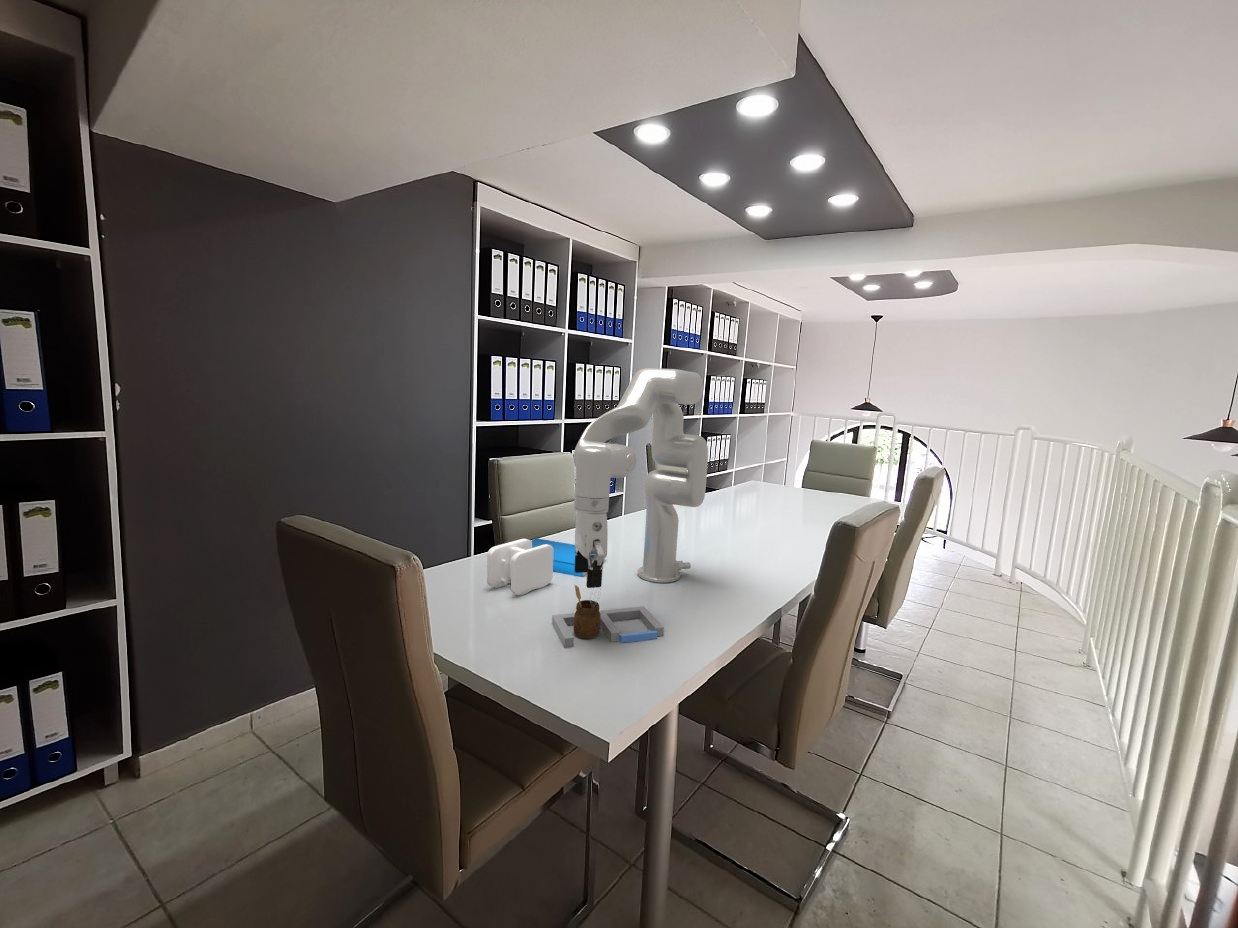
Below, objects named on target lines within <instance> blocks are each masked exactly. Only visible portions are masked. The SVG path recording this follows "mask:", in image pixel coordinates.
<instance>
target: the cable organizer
mask: <svg viewBox="0 0 1238 928" xmlns="http://www.w3.org/2000/svg"><path fill="white" fill-rule="evenodd" d="M531 541H532V540H530V539H527V538H521V539H517V540H513V541H509V542H505V543H502V544H498V545H495V546H492V547H491V548H490V549H489V550H488V551H487V556H486V557H487V558H486V560H487V561H486V569H487V570H486V584H487V586H490V587H492V588H498V589H499V588H501V587H504V586H506V587H507V586H508V584H510V591H511V592H512V594H514V595H517V596H523V594H524V595H525V594H529V592H530V591H533V590H535V589H537V590H539V589H541V588H543V587H546V586H547V585H548V584H550V583H551V581H552V579H553V576H554V574H553V573H554V571H553V552H554V549H553V547H552V546H551V545H547V544H544V545H541V546H538V547H534V548H532V542H531Z"/></svg>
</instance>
